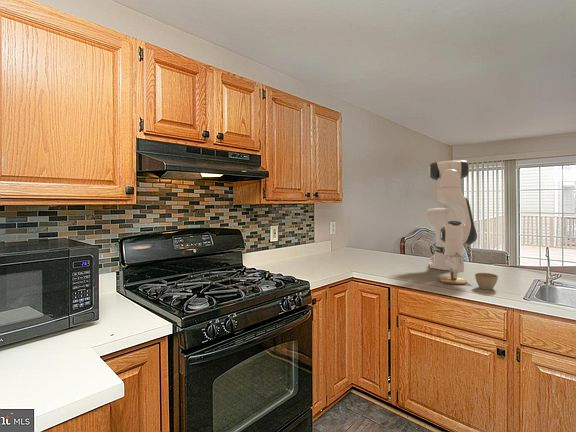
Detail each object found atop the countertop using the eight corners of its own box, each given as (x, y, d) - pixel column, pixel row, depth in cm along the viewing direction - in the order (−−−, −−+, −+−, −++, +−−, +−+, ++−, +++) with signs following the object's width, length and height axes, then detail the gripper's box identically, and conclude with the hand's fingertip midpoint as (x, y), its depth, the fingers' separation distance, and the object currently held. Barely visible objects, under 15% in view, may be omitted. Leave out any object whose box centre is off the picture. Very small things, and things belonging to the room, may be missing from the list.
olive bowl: (476, 285, 178) (477, 271, 178) (499, 288, 172) (499, 274, 172) (472, 289, 171) (473, 275, 170) (495, 292, 164) (496, 278, 164)
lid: (437, 277, 192) (437, 269, 191) (462, 278, 190) (462, 269, 189) (444, 283, 179) (444, 274, 178) (471, 284, 177) (471, 275, 177)
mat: (436, 279, 192) (436, 278, 192) (462, 279, 190) (462, 279, 190) (443, 285, 178) (443, 285, 178) (472, 286, 176) (472, 285, 176)
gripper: (467, 255, 172) (467, 281, 173) (454, 248, 193) (453, 272, 194) (454, 254, 173) (453, 281, 174) (442, 248, 194) (441, 272, 195)
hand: (453, 276), depth 184 cm, fingers closed on lid, 3 cm apart
